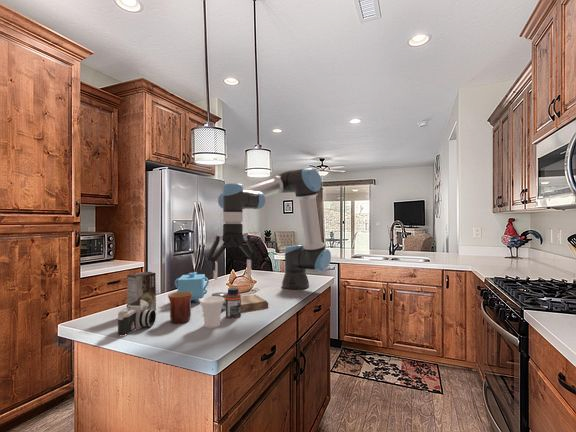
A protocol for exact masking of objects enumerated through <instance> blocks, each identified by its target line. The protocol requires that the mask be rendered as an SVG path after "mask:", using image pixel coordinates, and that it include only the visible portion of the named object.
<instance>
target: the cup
mask: <svg viewBox="0 0 576 432" xmlns="http://www.w3.org/2000/svg"><path fill="white" fill-rule="evenodd" d="M223 302H224V298H223V297H220V296H212V295H211V296H203V298H201V299H200V298H199V304H200V306H201V308H202V312H203V319H204V324H203V325H204V327H205V328H210V329H211V328H216V327H219V326H220V325H221V312H222V311H221V309H222V304H223Z"/></svg>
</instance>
